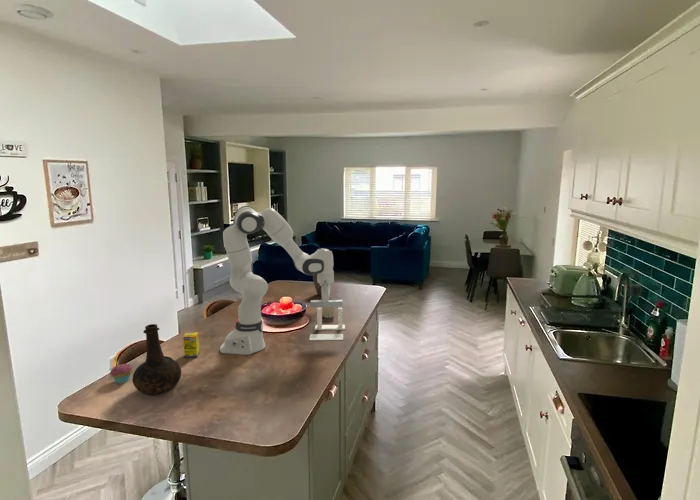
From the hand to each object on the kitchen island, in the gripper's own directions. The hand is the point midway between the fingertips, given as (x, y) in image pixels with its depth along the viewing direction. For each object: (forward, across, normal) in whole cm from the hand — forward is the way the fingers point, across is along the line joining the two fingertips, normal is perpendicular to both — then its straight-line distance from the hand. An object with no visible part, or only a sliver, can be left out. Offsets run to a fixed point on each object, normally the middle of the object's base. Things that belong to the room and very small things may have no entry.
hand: (326, 303), depth 222 cm
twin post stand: (+19, +14, -1) cm, 24 cm away
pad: (+19, 0, 0) cm, 19 cm away
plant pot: (+20, +82, +6) cm, 84 cm away
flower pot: (+20, +34, 0) cm, 39 cm away
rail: (+1, 0, 0) cm, 1 cm away
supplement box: (+18, -21, +65) cm, 71 cm away
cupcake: (+18, -46, +86) cm, 100 cm away
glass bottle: (+18, -54, +67) cm, 88 cm away
